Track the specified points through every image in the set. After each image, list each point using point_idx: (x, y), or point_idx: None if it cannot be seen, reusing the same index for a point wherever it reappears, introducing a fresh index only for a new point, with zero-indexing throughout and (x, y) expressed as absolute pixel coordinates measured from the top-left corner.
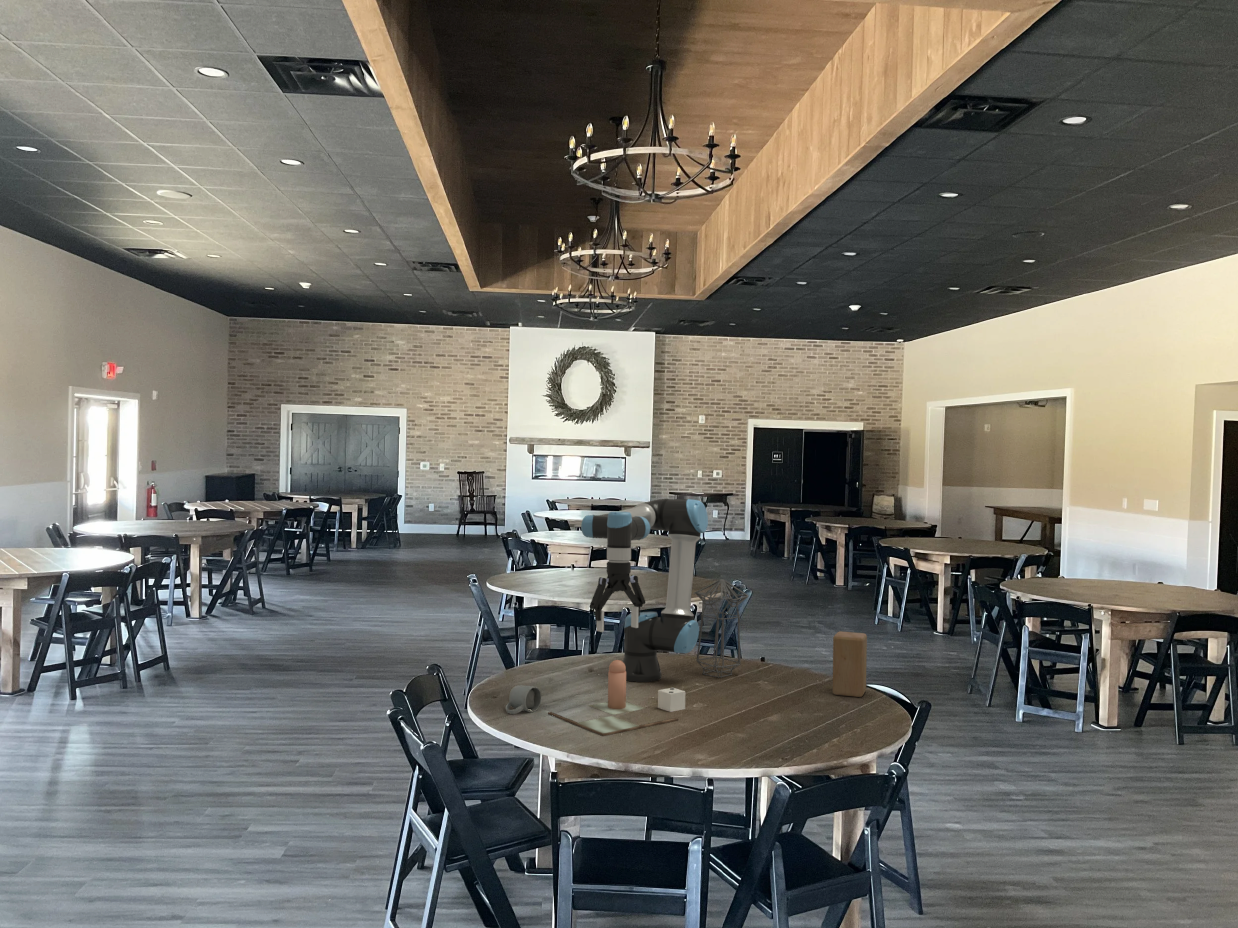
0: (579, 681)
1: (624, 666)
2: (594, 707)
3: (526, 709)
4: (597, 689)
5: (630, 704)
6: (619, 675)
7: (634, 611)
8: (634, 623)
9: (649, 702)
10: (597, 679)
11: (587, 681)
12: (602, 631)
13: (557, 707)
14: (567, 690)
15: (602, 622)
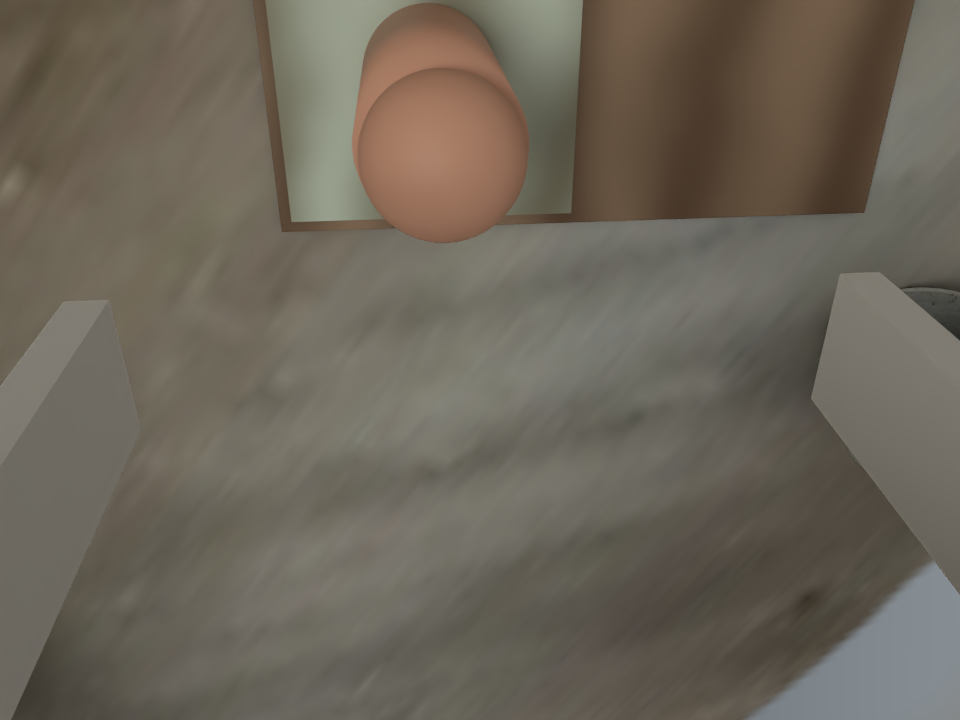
0: (264, 663)
1: (403, 91)
2: (567, 147)
3: (949, 291)
4: (266, 504)
5: (302, 70)
6: (475, 58)
7: (12, 554)
8: (99, 388)
9: (112, 78)
10: (148, 659)
11: (223, 648)
12: (869, 273)
13: (713, 300)
14: (431, 555)
15: (957, 350)
